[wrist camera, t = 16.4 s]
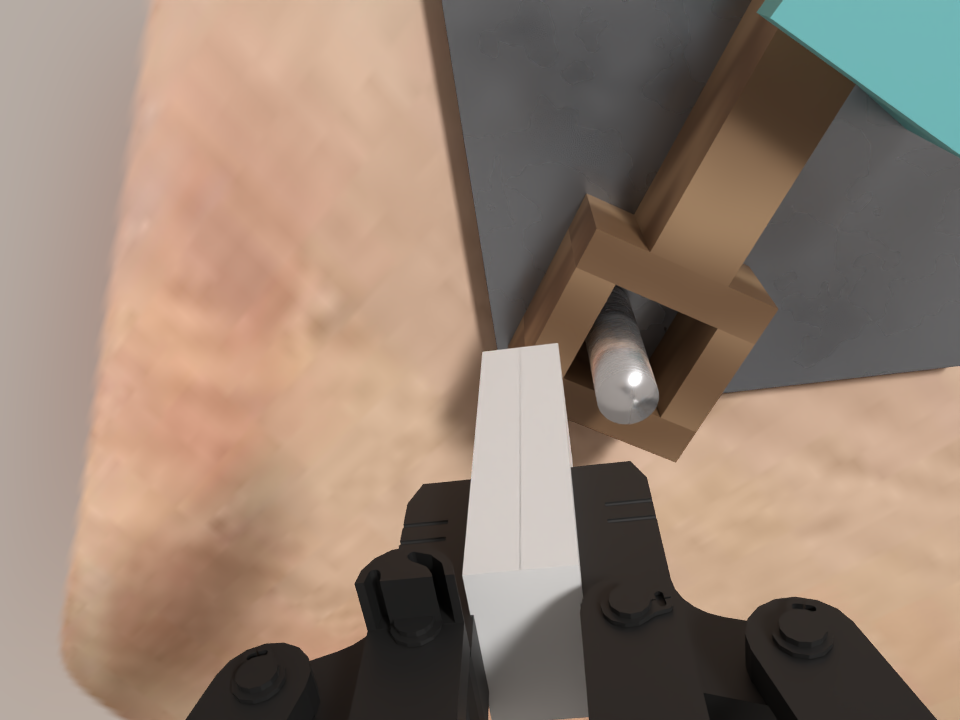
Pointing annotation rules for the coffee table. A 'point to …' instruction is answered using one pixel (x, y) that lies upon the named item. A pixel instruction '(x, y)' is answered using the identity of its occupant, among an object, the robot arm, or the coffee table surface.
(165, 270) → the coffee table surface
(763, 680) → the robot arm
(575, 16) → the base
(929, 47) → the keeper
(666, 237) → the link
